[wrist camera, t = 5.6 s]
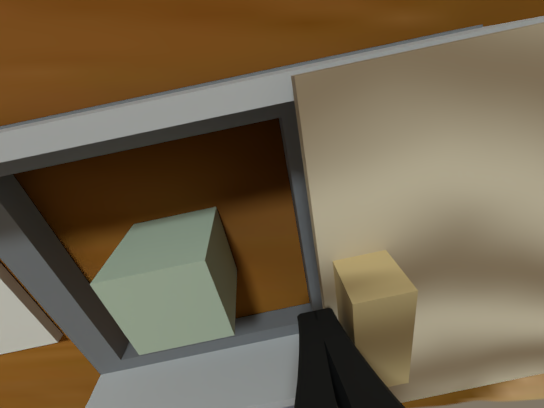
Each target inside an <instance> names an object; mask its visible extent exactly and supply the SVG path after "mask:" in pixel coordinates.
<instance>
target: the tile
mask: <svg viewBox="0 0 544 408" xmlns="http://www.w3.org/2000/svg"><path fill="white" fill-rule="evenodd" d="M62 336H63V334H62V333H61V332H60V330H59V329H58V328H57V327H56V326H55V325H54V324H53V322H52V321H51V320H50V319H49V318H48V317H47V316H46V314H45V313H44V312H43V311H42V310H41V309H40V307H39V306H38V305H37V304H36V303H35V302H34V301H33V299H32V298H31V297H30V296H29V295H28V294H27V293H26V291H25V290H24V289H23V288H22V287H21V286H20V285H19V283H18V282H17V281H16V280H15V279H14V278H13V276H12V275H11V274H10V273H9V272H8V271H7V270H6V268H5V267H4V266H3V265H2V264H1V263H0V354H5V353H10V352H14V351H19V350H24V349H29V348H34V347H38V346H43V345H48V344H53V343H58V342H59V340H60V339H61V337H62Z"/></svg>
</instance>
